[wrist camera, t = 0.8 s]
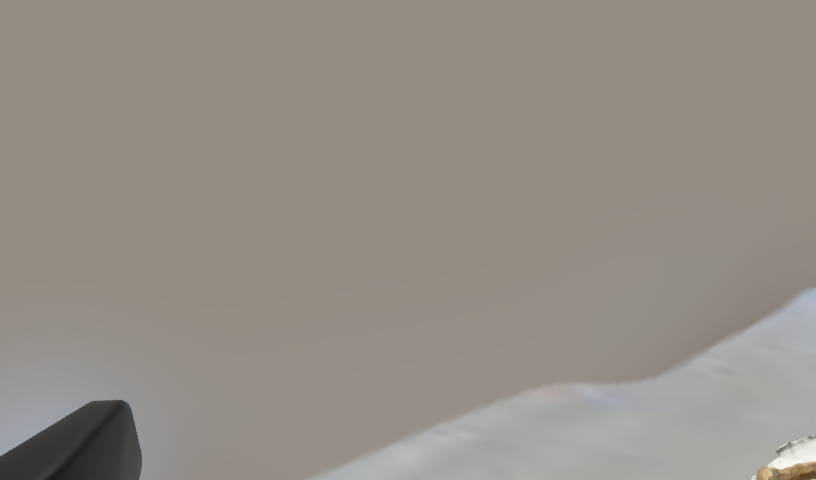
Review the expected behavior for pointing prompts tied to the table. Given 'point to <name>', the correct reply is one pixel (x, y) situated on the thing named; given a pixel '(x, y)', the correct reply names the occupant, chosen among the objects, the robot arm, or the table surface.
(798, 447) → the frog figurine
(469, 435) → the table surface
